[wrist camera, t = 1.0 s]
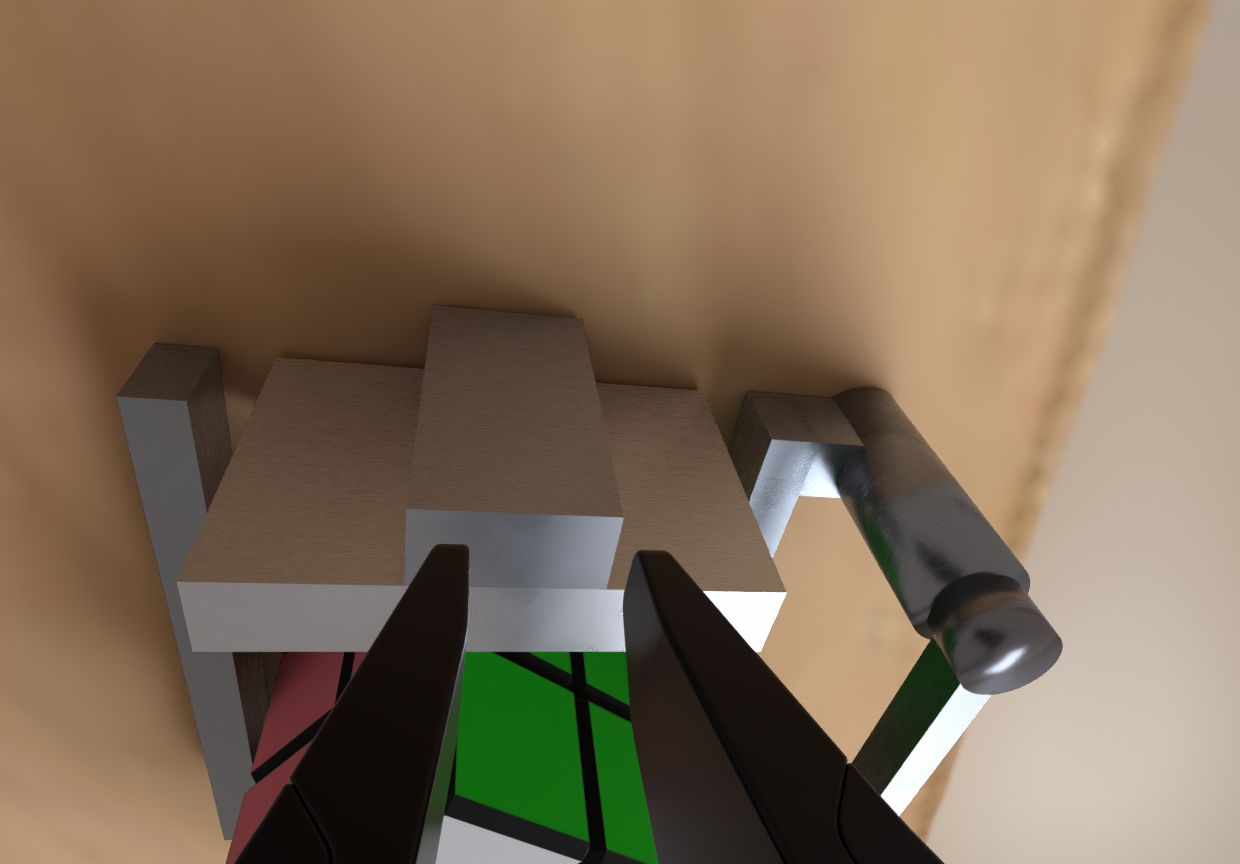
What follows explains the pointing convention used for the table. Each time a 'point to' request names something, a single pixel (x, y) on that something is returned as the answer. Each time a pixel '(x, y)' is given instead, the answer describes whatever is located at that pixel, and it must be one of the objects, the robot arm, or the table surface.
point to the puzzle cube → (495, 757)
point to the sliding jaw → (469, 498)
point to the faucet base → (760, 451)
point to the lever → (956, 680)
